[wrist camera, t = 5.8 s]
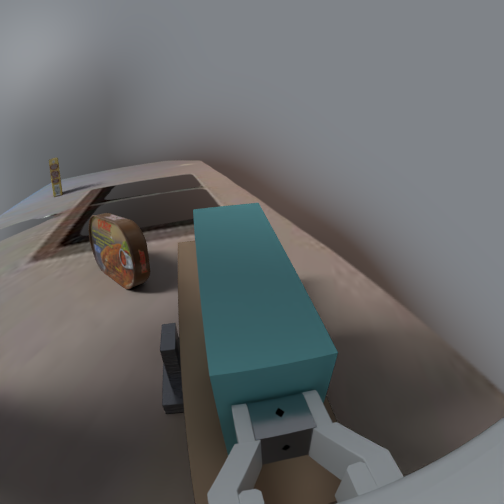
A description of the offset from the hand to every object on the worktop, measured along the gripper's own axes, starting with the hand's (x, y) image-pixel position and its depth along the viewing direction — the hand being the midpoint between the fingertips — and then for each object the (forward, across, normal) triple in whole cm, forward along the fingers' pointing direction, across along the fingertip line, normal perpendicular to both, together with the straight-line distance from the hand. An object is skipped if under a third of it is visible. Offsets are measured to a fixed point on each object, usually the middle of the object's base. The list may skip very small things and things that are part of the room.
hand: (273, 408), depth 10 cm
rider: (+7, 0, +5) cm, 8 cm away
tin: (+32, +13, +9) cm, 35 cm away
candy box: (+115, +60, +9) cm, 130 cm away
